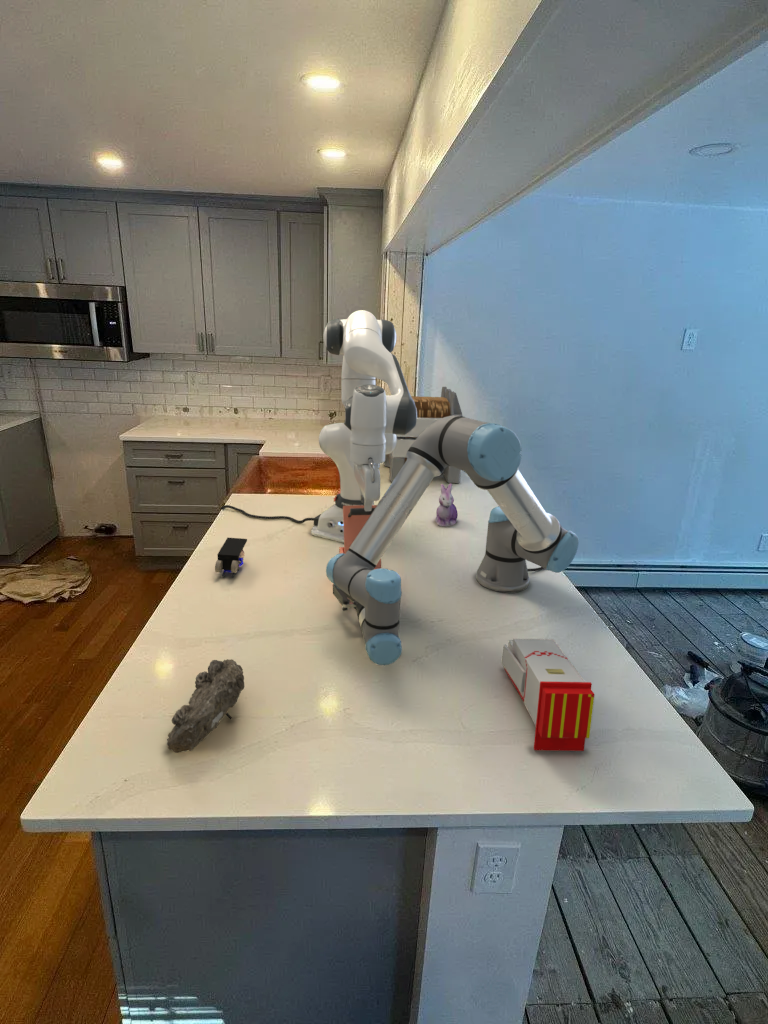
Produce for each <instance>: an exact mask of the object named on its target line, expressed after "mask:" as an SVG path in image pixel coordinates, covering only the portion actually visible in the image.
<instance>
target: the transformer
mask: <svg viewBox="0 0 768 1024" xmlns="http://www.w3.org/2000/svg"><path fill="white" fill-rule="evenodd" d="M440 393H441V394H440V396H415V395H414V396H413V395H411V397H412V399H413V400H414V403H415V406H416V409H417V421H416V425H415V427H414V428H413V429H412V430H411V431H410V432H408V433H407V434H405V435H398V434H396V436H397V443H396V446H395V448H394V450H393V451H392V452H391V453H390V454H386V455H385V461H384V462H383V466H384V467H388V468H389V475H388V476H389V477H388V478H389V480H390V482H391V483H392V482H393V480H394V479H395V477H396V476H397V474H398V473H399V471H400V470H401V468H402V467H403V465H404V464H405V462H406V461H407V456H406V453H407V451H408V450H409V448H410V447H411V445H412V444H413V443H414V441H415V440H416V439H417V437H418V436H419V435H420V434H421V433H422V432H423V431H424V430H425V429H426V428H428V427H429V426H430V425H431V424H433V423H434V422H436V421H437V420H439V419H441V418H443V417H447V416H452V415H458V416H463V411H462V408H461V405H460V402H459V398H458V395H457V392H455V391H453V390H452V389H451V388H447V386H442V387H441V392H440ZM461 472H462V470H460V469H458V468H455V467H452V466H447V467H446V468H445V469H444V470H443V472H442V473H441V475H443V478H444V479H445V481H446V482H447V483H449V484H450V483H452V484H455V483H456V484H459V483H461Z"/></svg>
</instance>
